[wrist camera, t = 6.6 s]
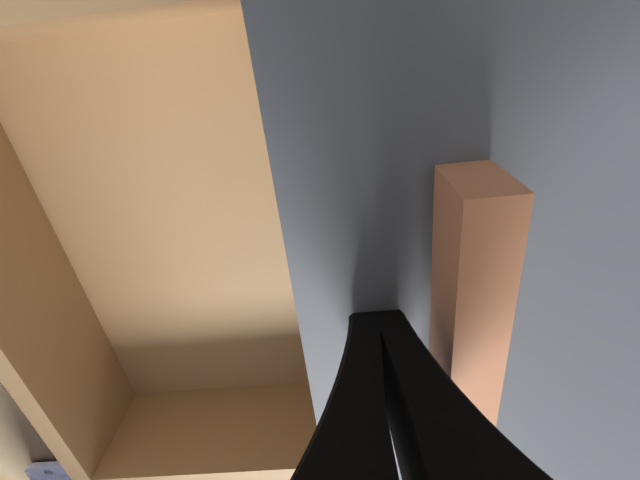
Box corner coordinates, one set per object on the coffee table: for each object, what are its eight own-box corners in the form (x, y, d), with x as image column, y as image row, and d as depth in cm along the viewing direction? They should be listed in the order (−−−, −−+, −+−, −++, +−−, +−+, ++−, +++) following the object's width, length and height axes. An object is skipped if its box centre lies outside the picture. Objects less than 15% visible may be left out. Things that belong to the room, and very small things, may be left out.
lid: (331, 488, 16) (332, 572, 13) (234, -73, 7) (188, -129, 5) (699, 469, 15) (773, 555, 12) (1106, -202, 6) (1621, -354, 4)
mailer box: (131, 395, 21) (80, 491, 17) (-59, 22, 13) (-265, 16, 8) (386, 378, 20) (403, 474, 16) (369, -37, 12) (396, -79, 7)
